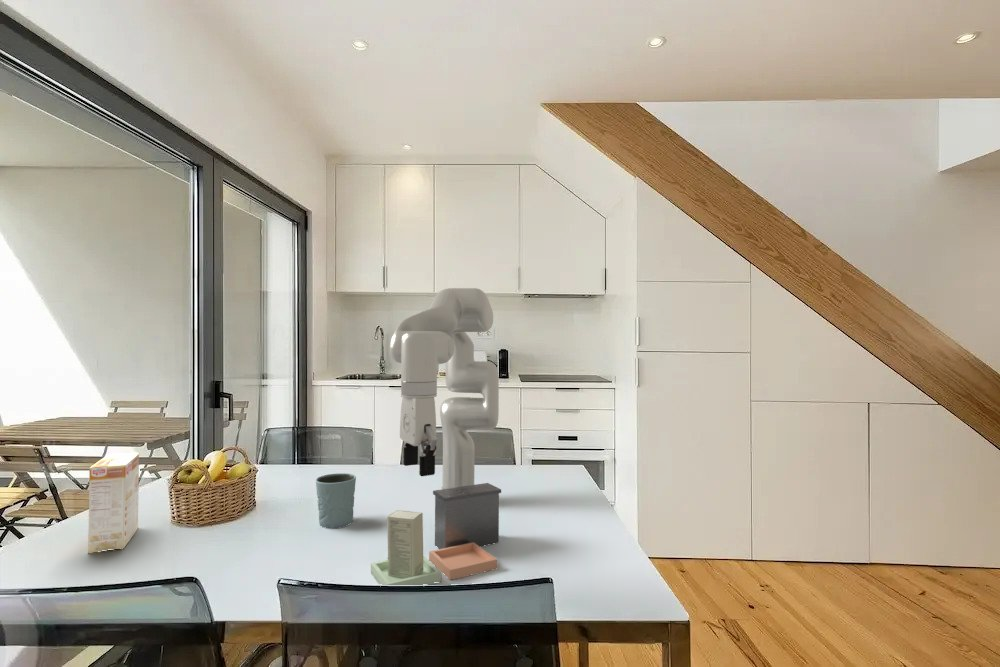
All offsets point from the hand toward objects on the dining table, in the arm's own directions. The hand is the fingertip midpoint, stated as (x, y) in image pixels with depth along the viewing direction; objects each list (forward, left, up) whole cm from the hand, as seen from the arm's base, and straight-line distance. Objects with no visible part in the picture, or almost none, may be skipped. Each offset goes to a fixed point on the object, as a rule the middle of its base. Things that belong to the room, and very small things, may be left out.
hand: (418, 469), depth 112 cm
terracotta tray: (+3, +9, -21) cm, 23 cm away
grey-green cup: (-37, -9, -21) cm, 44 cm away
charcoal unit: (-7, +15, -21) cm, 27 cm away
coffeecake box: (-50, -58, -21) cm, 79 cm away
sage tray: (+3, -4, -21) cm, 21 cm away
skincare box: (+3, -4, -20) cm, 21 cm away
